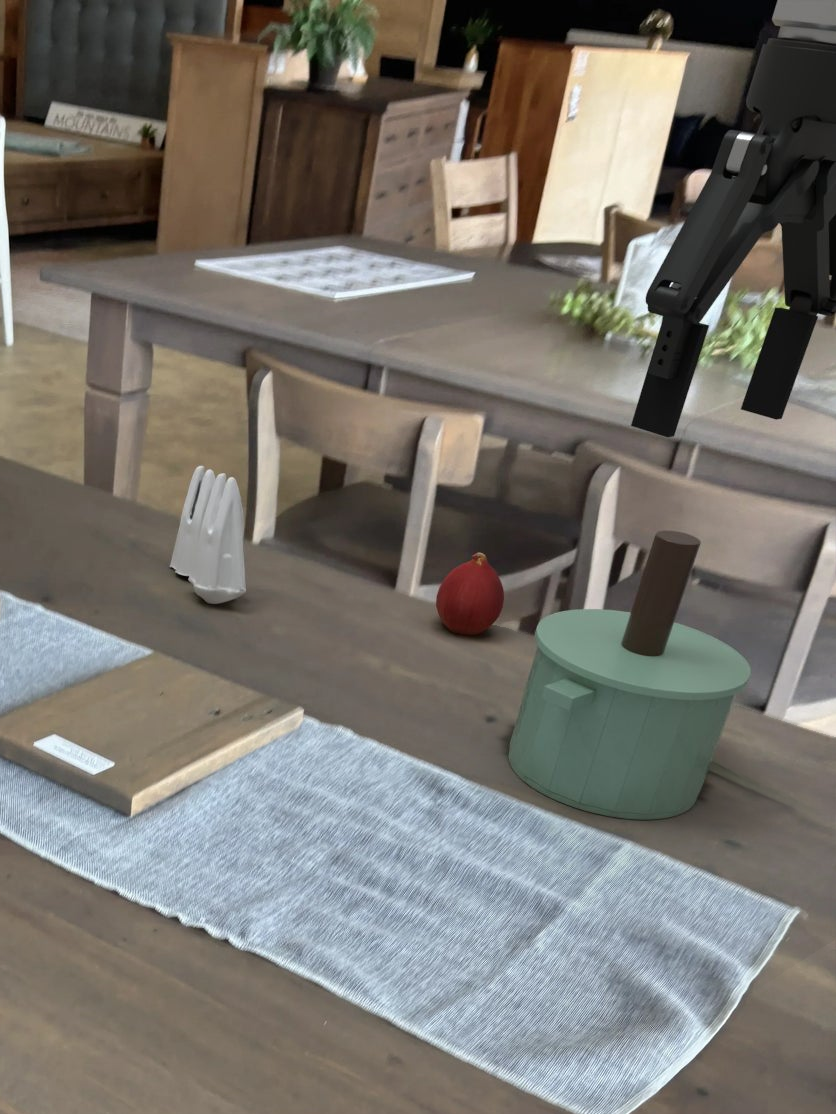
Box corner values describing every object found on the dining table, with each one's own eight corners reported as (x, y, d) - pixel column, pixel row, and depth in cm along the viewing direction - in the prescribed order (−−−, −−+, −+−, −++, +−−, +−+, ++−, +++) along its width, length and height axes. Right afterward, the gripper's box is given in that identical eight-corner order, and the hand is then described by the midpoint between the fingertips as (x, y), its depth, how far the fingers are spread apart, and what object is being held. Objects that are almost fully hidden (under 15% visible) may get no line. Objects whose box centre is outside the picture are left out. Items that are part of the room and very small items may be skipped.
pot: (750, 782, 108) (795, 665, 103) (608, 848, 97) (651, 722, 92) (595, 712, 116) (630, 601, 111) (448, 766, 105) (479, 645, 100)
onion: (437, 622, 130) (457, 536, 126) (498, 637, 128) (521, 551, 124) (420, 641, 126) (441, 553, 121) (483, 657, 124) (506, 568, 120)
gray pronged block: (244, 613, 127) (263, 490, 121) (200, 613, 126) (217, 488, 120) (209, 566, 137) (225, 449, 131) (167, 566, 136) (181, 448, 130)
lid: (784, 681, 101) (833, 556, 96) (673, 726, 93) (720, 591, 88) (607, 611, 110) (643, 492, 105) (490, 645, 102) (523, 518, 97)
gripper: (872, 47, 90) (753, 394, 102) (659, 16, 76) (550, 422, 88) (990, 61, 86) (851, 421, 98) (787, 30, 72) (654, 456, 84)
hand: (708, 423), depth 93 cm, fingers open, 13 cm apart
